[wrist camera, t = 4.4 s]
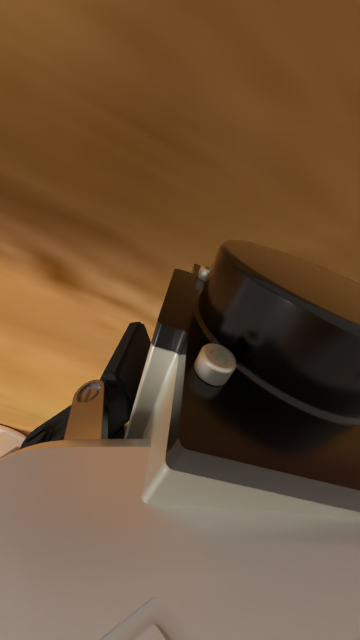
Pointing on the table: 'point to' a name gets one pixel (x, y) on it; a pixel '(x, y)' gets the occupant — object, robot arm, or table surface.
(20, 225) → the table surface
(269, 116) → the table surface
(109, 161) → the table surface
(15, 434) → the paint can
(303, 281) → the pneumatic valve
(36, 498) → the robot arm
